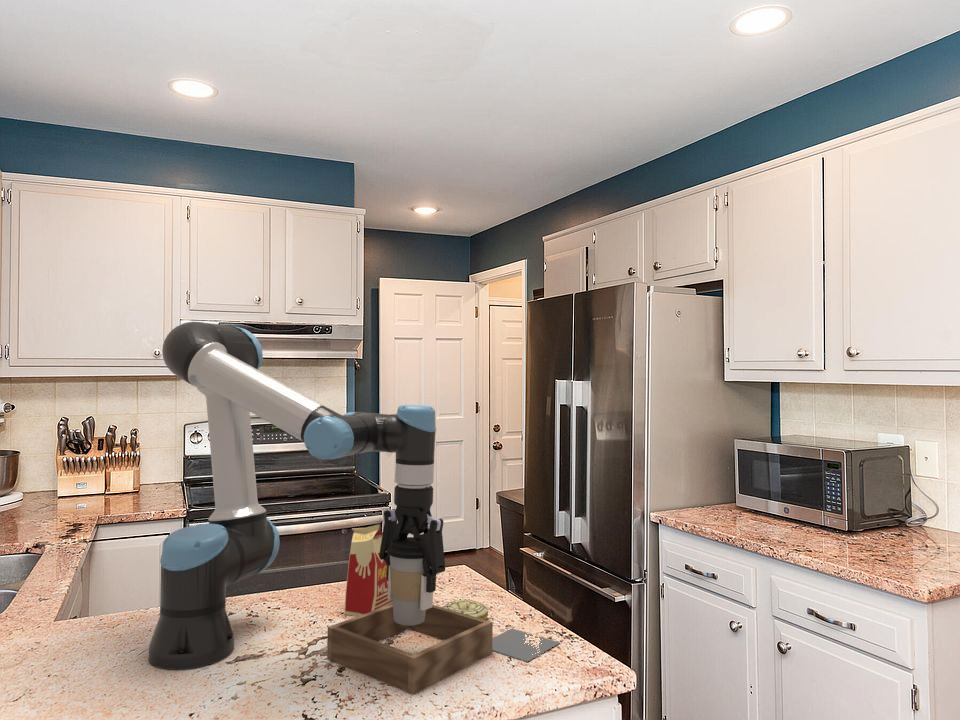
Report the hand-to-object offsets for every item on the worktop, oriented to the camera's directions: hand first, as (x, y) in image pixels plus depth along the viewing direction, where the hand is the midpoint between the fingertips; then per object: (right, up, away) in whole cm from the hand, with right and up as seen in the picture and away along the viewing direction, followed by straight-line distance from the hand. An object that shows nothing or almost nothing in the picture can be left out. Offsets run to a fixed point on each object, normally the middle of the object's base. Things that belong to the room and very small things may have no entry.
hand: (409, 602), depth 129 cm
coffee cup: (0, -3, 0) cm, 4 cm away
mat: (+22, -11, +6) cm, 25 cm away
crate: (0, -10, 0) cm, 10 cm away
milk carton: (-12, -11, +24) cm, 29 cm away
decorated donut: (+10, -11, +19) cm, 24 cm away
